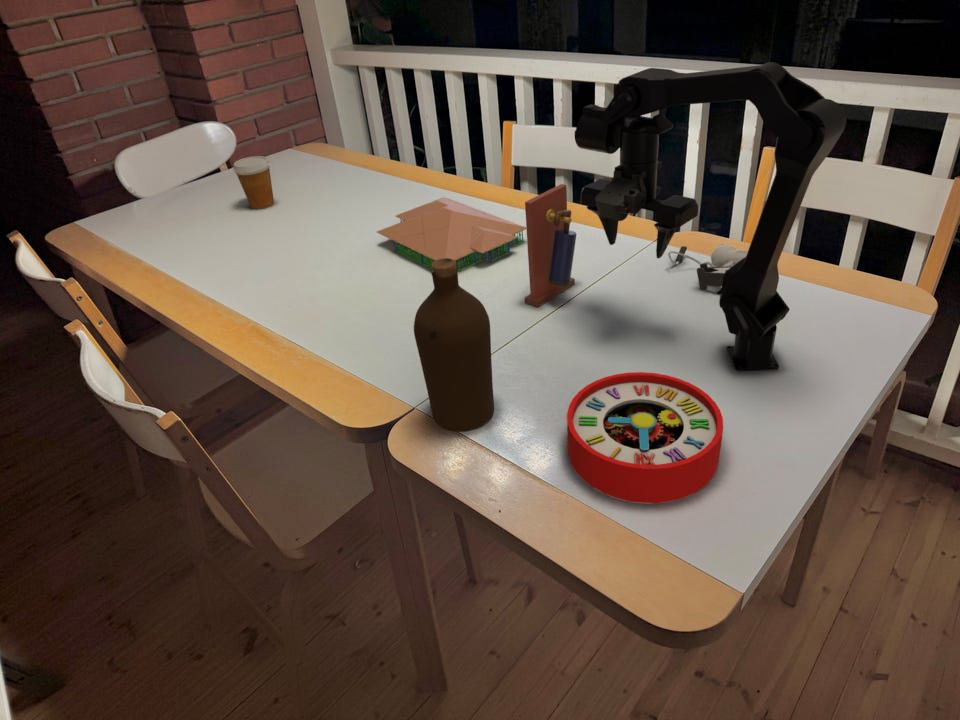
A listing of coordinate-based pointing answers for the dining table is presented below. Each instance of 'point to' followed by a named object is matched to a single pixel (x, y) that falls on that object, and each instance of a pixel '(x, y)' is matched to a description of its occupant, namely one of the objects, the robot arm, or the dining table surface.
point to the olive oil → (455, 352)
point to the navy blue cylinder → (562, 252)
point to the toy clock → (644, 437)
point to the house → (451, 232)
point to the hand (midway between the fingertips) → (635, 250)
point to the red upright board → (544, 242)
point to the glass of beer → (255, 180)
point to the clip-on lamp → (713, 264)
